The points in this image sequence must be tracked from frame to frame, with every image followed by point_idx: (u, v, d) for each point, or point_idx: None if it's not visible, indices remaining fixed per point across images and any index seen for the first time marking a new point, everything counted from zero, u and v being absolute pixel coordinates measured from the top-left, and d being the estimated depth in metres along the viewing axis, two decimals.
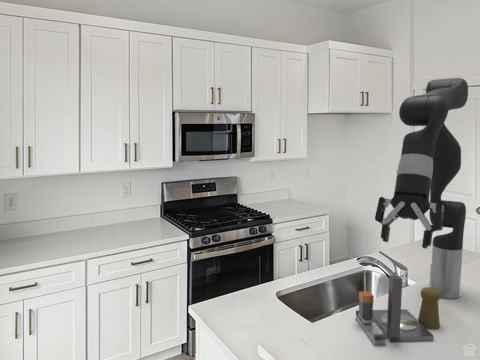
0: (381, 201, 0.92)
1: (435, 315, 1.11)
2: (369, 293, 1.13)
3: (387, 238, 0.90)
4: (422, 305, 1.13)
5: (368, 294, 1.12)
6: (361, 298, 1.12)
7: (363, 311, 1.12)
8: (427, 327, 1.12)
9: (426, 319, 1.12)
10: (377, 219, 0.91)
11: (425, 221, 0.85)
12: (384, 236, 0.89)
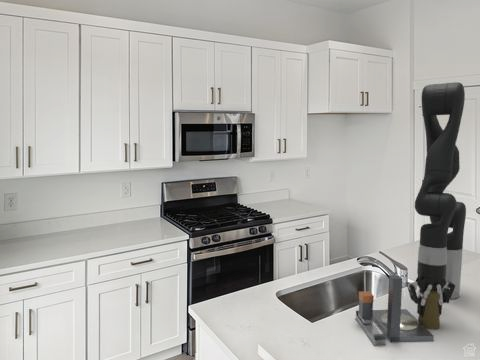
0: (413, 288, 1.11)
1: (435, 315, 1.11)
2: (369, 293, 1.13)
3: None
4: None
5: (368, 294, 1.12)
6: (361, 298, 1.12)
7: (363, 311, 1.12)
8: (427, 327, 1.12)
9: (426, 319, 1.12)
10: (417, 302, 1.12)
11: (440, 298, 1.12)
12: (423, 314, 1.13)
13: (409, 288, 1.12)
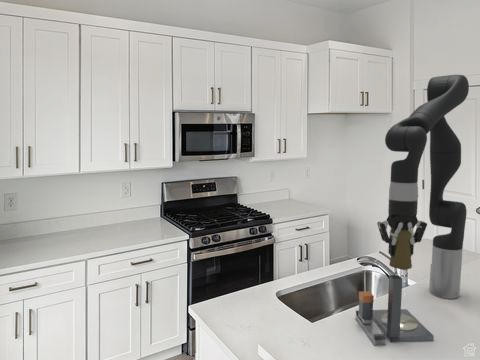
0: (383, 227, 1.08)
1: (406, 254, 1.08)
2: (369, 293, 1.13)
3: None
4: None
5: (368, 294, 1.12)
6: (361, 298, 1.12)
7: (363, 311, 1.12)
8: (398, 267, 1.08)
9: (397, 258, 1.08)
10: (387, 241, 1.08)
11: (412, 237, 1.08)
12: (394, 254, 1.09)
13: (379, 227, 1.09)
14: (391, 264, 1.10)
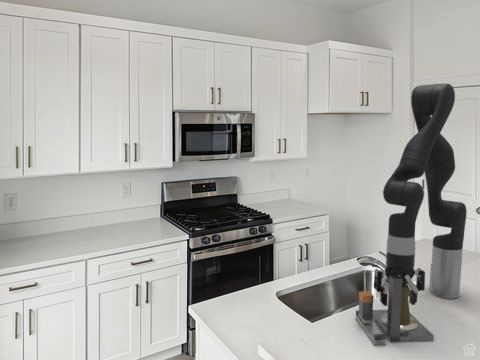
0: (380, 275, 1.09)
1: (405, 311, 1.10)
2: (369, 293, 1.13)
3: None
4: None
5: (368, 294, 1.12)
6: (361, 298, 1.12)
7: (363, 311, 1.12)
8: None
9: None
10: (379, 290, 1.10)
11: (414, 286, 1.10)
12: (385, 302, 1.11)
13: (376, 274, 1.10)
14: None
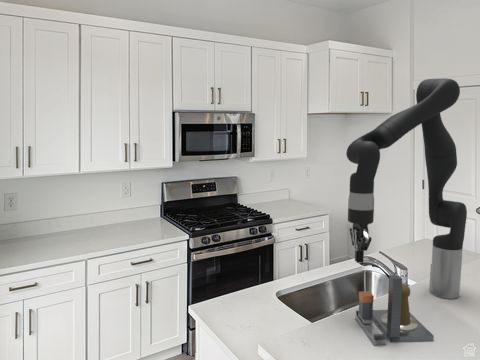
0: (350, 231, 1.23)
1: (405, 311, 1.10)
2: (369, 293, 1.13)
3: None
4: None
5: (368, 294, 1.12)
6: (361, 298, 1.12)
7: (363, 311, 1.12)
8: None
9: None
10: (352, 244, 1.21)
11: (356, 244, 1.17)
12: (355, 258, 1.19)
13: None
14: None
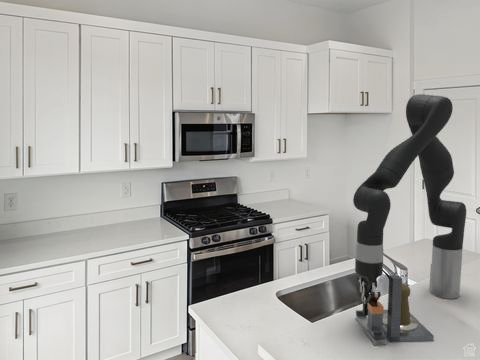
0: (357, 280, 1.16)
1: (405, 311, 1.10)
2: (379, 304, 1.06)
3: None
4: None
5: (378, 305, 1.05)
6: (370, 309, 1.05)
7: (372, 323, 1.05)
8: None
9: None
10: (360, 295, 1.14)
11: (364, 297, 1.10)
12: (363, 310, 1.12)
13: None
14: None
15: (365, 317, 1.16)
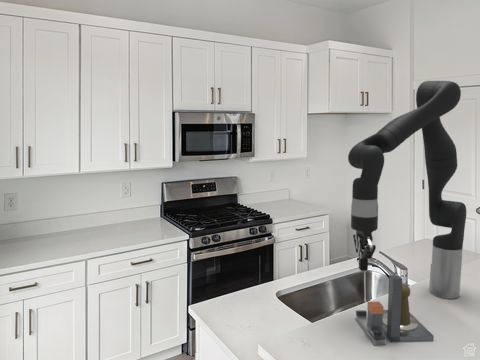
0: (354, 237, 1.19)
1: (405, 311, 1.10)
2: (378, 304, 1.06)
3: None
4: None
5: (377, 305, 1.05)
6: (370, 309, 1.05)
7: (372, 323, 1.05)
8: None
9: None
10: (356, 251, 1.17)
11: (360, 252, 1.13)
12: (359, 266, 1.15)
13: None
14: None
15: (365, 317, 1.16)
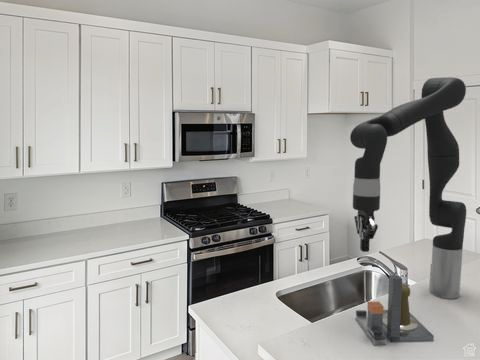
0: (355, 219, 1.18)
1: (405, 311, 1.10)
2: (378, 304, 1.06)
3: None
4: None
5: (377, 305, 1.05)
6: (370, 309, 1.05)
7: (372, 323, 1.05)
8: None
9: None
10: None
11: (362, 232, 1.12)
12: (360, 247, 1.14)
13: None
14: None
15: (365, 317, 1.16)
